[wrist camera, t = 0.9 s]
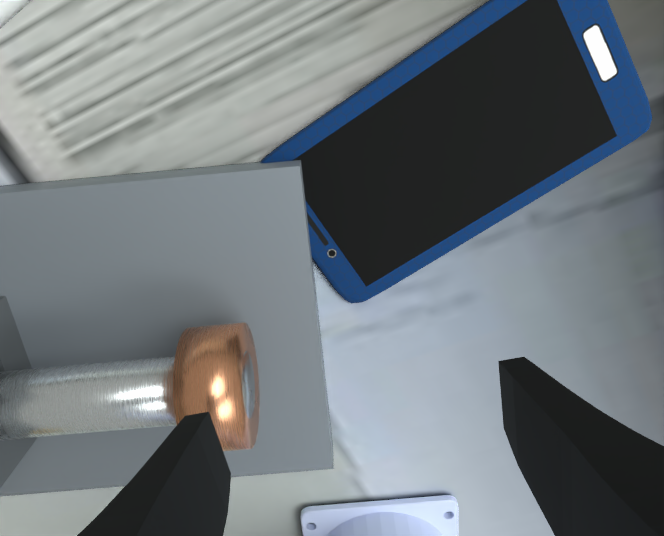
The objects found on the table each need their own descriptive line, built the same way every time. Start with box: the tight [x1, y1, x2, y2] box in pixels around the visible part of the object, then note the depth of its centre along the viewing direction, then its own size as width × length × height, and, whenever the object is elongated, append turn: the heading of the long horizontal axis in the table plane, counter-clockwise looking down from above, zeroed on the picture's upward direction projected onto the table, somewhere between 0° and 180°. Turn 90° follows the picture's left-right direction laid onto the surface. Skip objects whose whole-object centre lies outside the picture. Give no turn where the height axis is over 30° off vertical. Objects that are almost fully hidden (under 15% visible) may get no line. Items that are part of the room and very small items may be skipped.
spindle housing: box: [0, 160, 334, 496], centre depth 20 cm, size 14×24×7 cm, turn 95°
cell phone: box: [260, 0, 652, 303], centre depth 20 cm, size 7×14×1 cm, turn 124°
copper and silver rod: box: [0, 323, 260, 451], centre depth 19 cm, size 4×12×4 cm, turn 95°
